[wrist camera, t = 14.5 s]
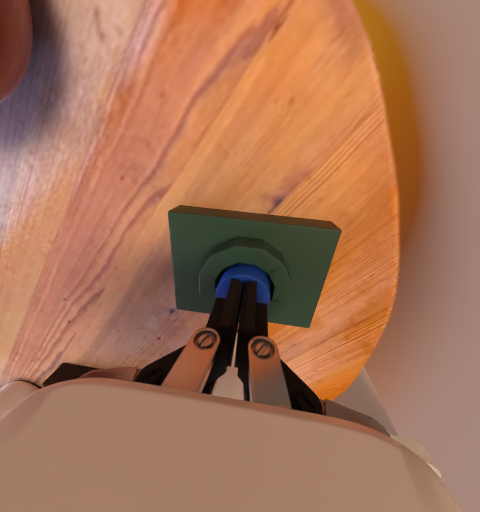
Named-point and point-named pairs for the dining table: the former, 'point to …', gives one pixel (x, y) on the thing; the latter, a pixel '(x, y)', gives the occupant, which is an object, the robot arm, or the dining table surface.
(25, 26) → the round-bottom flask
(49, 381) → the dial panel
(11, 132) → the dining table surface
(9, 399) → the cup
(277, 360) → the robot arm
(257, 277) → the blue button cap
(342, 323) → the dining table surface
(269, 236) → the button base
